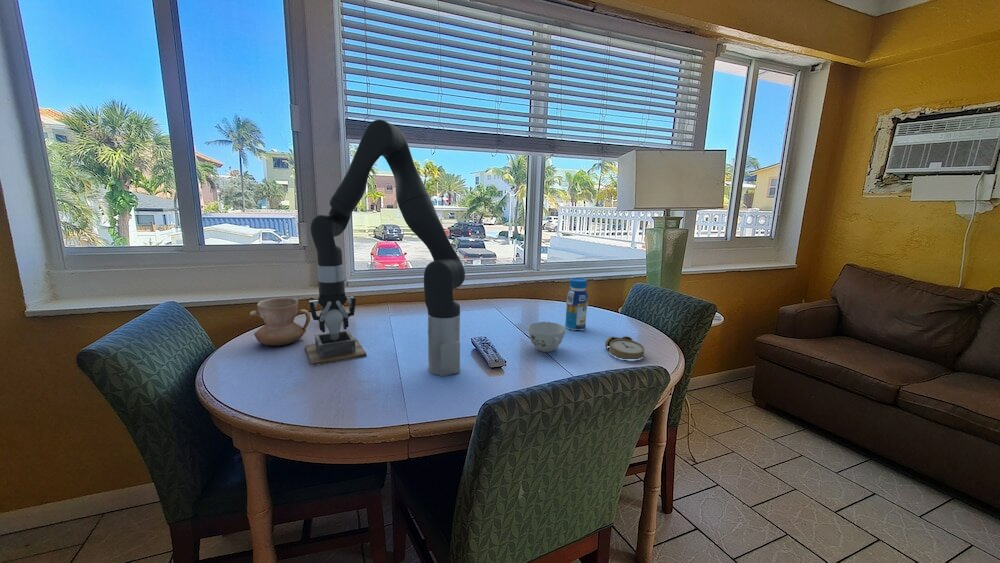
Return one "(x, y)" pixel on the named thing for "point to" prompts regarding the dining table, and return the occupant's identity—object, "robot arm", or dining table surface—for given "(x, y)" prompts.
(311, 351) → the socket
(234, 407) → the dining table surface
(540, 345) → the teacup
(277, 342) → the ceramic jug
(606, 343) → the alarm clock
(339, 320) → the lightbulb
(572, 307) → the beverage bottle
